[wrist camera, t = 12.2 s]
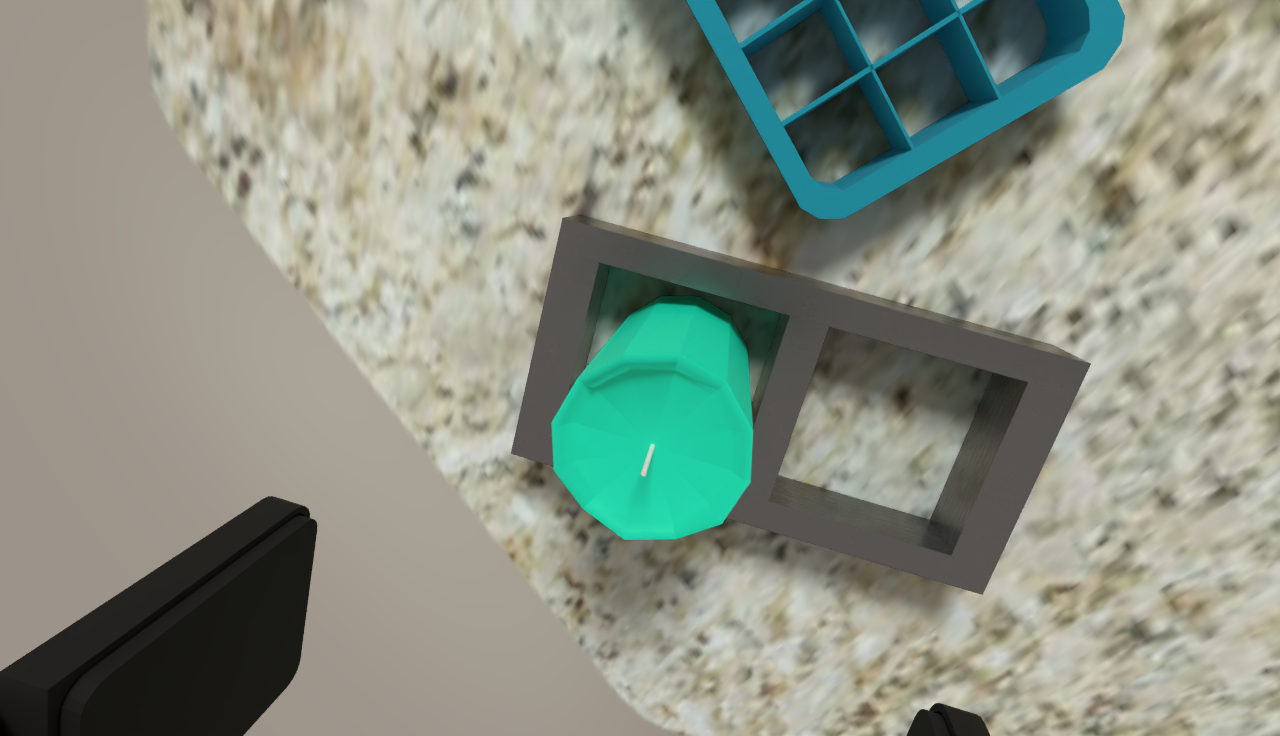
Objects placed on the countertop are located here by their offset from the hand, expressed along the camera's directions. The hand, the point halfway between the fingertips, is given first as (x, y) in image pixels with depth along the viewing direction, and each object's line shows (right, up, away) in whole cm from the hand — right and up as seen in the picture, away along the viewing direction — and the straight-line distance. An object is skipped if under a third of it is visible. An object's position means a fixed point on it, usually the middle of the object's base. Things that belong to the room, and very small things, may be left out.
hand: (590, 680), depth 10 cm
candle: (+2, +5, +20) cm, 21 cm away
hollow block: (+7, +4, +19) cm, 21 cm away
